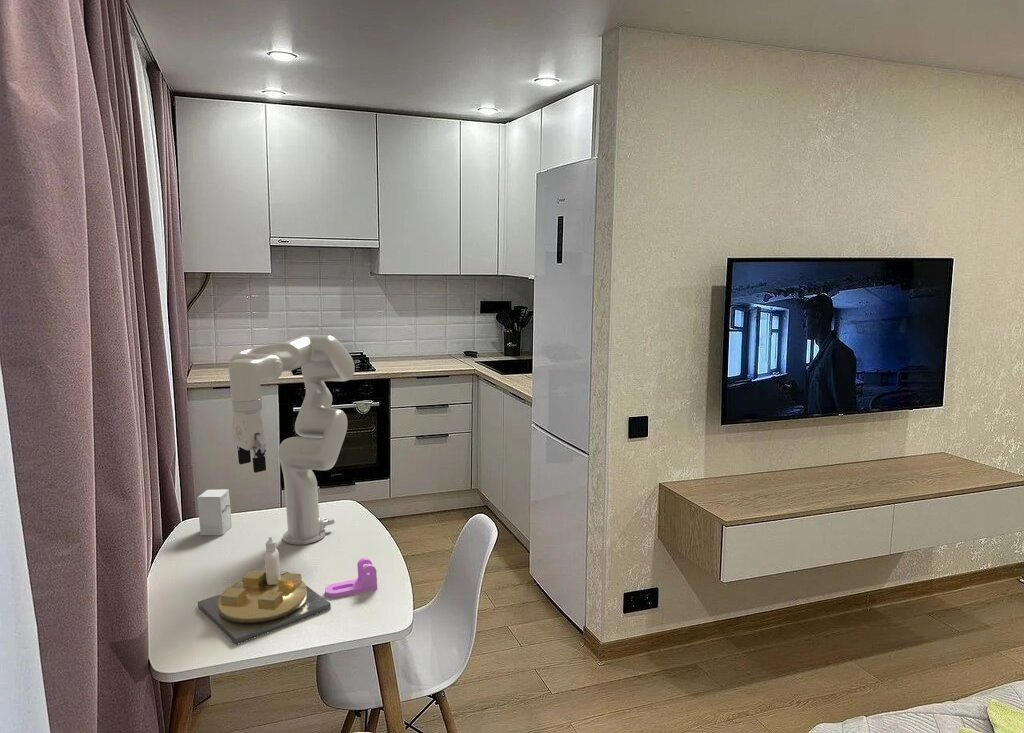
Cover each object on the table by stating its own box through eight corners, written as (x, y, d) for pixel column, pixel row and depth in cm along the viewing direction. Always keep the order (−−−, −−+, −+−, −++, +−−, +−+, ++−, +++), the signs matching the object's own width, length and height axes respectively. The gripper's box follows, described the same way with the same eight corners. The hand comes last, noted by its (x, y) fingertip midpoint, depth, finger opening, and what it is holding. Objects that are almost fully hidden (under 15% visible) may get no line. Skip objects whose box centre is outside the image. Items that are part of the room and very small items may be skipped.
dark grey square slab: (287, 576, 205) (287, 571, 205) (330, 608, 188) (330, 602, 187) (198, 607, 190) (197, 601, 189) (236, 645, 172) (235, 638, 172)
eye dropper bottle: (259, 584, 193) (255, 540, 191) (273, 574, 198) (270, 531, 196) (273, 586, 192) (270, 542, 189) (287, 577, 197) (284, 534, 195)
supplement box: (223, 535, 234) (219, 497, 232) (199, 535, 234) (196, 497, 232) (232, 526, 241) (229, 488, 239) (210, 526, 242) (206, 488, 239)
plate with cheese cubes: (247, 579, 201) (246, 563, 200) (321, 585, 196) (320, 568, 196) (200, 619, 180) (199, 601, 179) (281, 626, 176) (280, 608, 175)
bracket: (372, 580, 203) (370, 556, 201) (377, 589, 198) (376, 564, 196) (323, 590, 197) (321, 566, 196) (327, 600, 192) (325, 574, 191)
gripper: (220, 402, 204) (226, 463, 207) (246, 413, 191) (252, 477, 194) (247, 398, 209) (252, 457, 212) (274, 408, 196) (279, 471, 199)
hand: (252, 467), depth 203 cm, fingers open, 9 cm apart
